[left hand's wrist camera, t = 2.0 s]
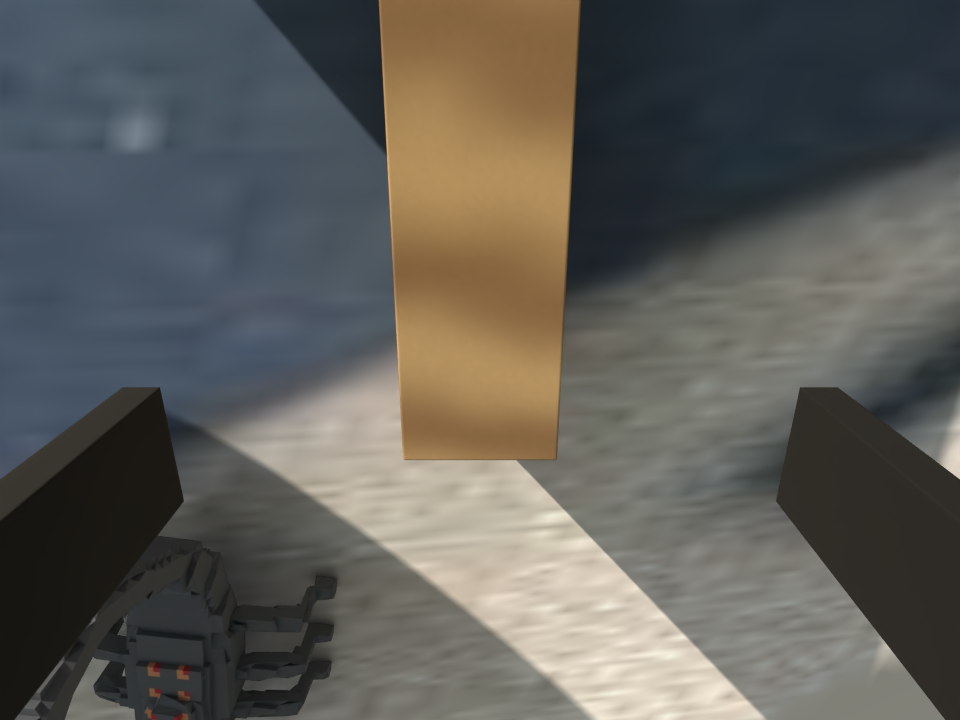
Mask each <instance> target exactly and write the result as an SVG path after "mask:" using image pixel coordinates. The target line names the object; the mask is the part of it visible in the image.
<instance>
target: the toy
mask: <svg viewBox="0 0 960 720" xmlns="http://www.w3.org/2000/svg"><path fill="white" fill-rule="evenodd" d="M336 586H337V579H335V578H326V577H317V576H316V582H315V586H309V587H308V588H307V590H306V593H305V595H304V598H303V600H302V603H301V604H297V606H281V605H278V606H275V607H273V608H271V607H261V606H251V605H241V606H239V607H238V606H237V602H236V599H235V596H234V593H233V591H232V588H231V586H230V584H229V583H228V581H227V578H226V574H225V570H224V566H223V562H222V559H221V555H220V553H219V552H212V551H210V549H206V548H202V542H201V541H194V540H186V539H178V538H169V537H161V536H156V538H155V539H154V540H153V542H152V543H151V544H150V546H149V547H148V548H147V549H146V551H145V552H144V553H143V555H142V556H141V557H140V558H139V560H138V561H137V562H136V564H135V565H134V566H133V567H132V569H131V570H130V571H129V573H128V574H127V575H126V577H125V578H124V579H123V580H122V582H121V583H120V584H119V586H118V587H117V588H116V589H115V591H114V592H113V593H112V595H111V596H110V597H109V598H108V600H107V601H106V602H105V604H104V605H103V606H102V608H101V609H100V610H99V611H98V613H97V614H96V615H95V617H94V618H93V619H92V620H91V622H90V623H89V624H88V626H87V627H86V628H85V629H84V631H83V632H82V633H81V635H80V636H79V637H78V639H77V640H76V641H75V642H74V644H73V645H72V646H71V648H70V649H69V650H68V651H67V653H66V654H65V655H64V657H63V658H62V659H61V661H60V662H59V663H58V664H57V666H56V667H55V668H54V670H53V671H52V672H51V673H50V675H49V676H48V677H47V679H46V680H45V681H44V682H43V684H42V685H41V686H40V688H39V689H38V690H37V692H36V693H35V694H34V695H33V697H32V698H31V699H30V701H29V702H28V703H27V704H26V706H25V707H24V708H23V710H22V711H21V712H20V713H19V715H18V716H17V717H16V719H15V720H65V717H66V714H67V711H68V708H69V705H70V702H71V699H72V696H73V694H74V692H75V690H76V688H77V686H78V684H79V682H80V680H81V678H82V676H83V674H84V673H85V671H86V669H87V667H88V665H89V663H90V661H91V659H92V657H94V658H96V659H102V660H109V661H110V662H109V664H108V665H107V667H106V668H105V669H104V671H103V672H102V674H101V675H100V677H99V678H98V680H97V681H96V683H95V684H94V690H95V694H97V695H98V696H99V697H100V698H103V699H106V700H109V701H113V702H117V703H119V704H120V706H127V707H129V708H134V709H135V719H136V720H235V718H246V719H247V717H269V716H290V715H297V714H298V712H299V710H300V709H301V707H302V706H303V704H304V702H305V699H306V697H307V694H308V691H309V689H310V686H311V684H312V681H313V680H317V679H325V678H327V677H329V674H330V670H331V662H321V661H311V662H309V660H310V657H311V654H312V651H313V648H314V644H315V643H320V642H327V641H331V639H332V636H333V631H334V625H325V624H316V623H309V625H308V628H307V631H306V633H305V636H304V639H303V642H302V645H301V647H300V646H296V647H295V649H294V651H293V653H290V652H252V653H249V654H245V634H244V631H264V632H301V630H302V627H303V624H304V622H308V620H309V617H310V614H311V610H312V607H313V605H314V604H315V602H316V601H317V600H326V599H332V598H334V596H335V593H336ZM127 614H128V619H127V637H125V636H119V635H117V634H118V632H119V630H120V628H121V626H122V624H123V623H124V620H123V617H126V615H127ZM124 668H125V674H126V677H124V676H122V673H123V670H124ZM299 674H302V675H301V677H300V680H299V682H298V684H297V685H296V686H294V687H293V688H292V689H291V690H266V691H255V690H253V691H244V690H243V689H242V687H243V684H244V682H245V680H254V681H261V680H265V679H268V678H272V677H281V678H290V677H293V676H296V675H299Z"/></svg>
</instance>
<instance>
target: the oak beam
mask: <svg viewBox="0 0 960 720" xmlns="http://www.w3.org/2000/svg"><path fill="white" fill-rule="evenodd" d="M379 13H380V32H381V50H382V69H383V88H384V107H385V126H386V144H387V163H388V182H389V201H390V220H391V238H392V257H393V276H394V295H395V314H396V332H397V351H398V370H399V389H400V408H401V426H402V445H403V459H404V460H556V459H557V445H558V426H559V408H560V389H561V370H562V351H563V332H564V314H565V295H566V276H567V257H568V238H569V220H570V201H571V182H572V163H573V144H574V126H575V107H576V88H577V69H578V50H579V32H580V13H581V0H379Z"/></svg>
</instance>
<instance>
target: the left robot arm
mask: <svg viewBox="0 0 960 720" xmlns="http://www.w3.org/2000/svg"><path fill="white" fill-rule="evenodd" d="M183 502H184V499H183V495H182V490H181V485H180V481H179V476H178V471H177V466H176V462H175V457H174V452H173V447H172V443H171V438H170V433H169V428H168V424H167V419H166V414H165V410H164V405H163V400H162V395H161V391H160V388H121V389H120V390H119V391H117V392H116V393H115V394H113V395H112V396H111V397H109V398H108V399H107V400H105V401H104V402H103V403H101V404H100V405H99V406H97V407H96V408H95V409H93V410H92V411H91V412H89V413H88V414H87V415H85V416H84V417H83V418H81V419H80V420H79V421H77V422H76V423H75V424H73V425H72V426H71V427H69V428H68V429H67V430H65V431H64V432H63V433H61V434H60V435H59V436H57V437H56V438H55V439H53V440H52V441H51V442H49V443H48V444H47V445H45V446H44V447H43V448H41V449H40V450H39V451H37V452H36V453H35V454H33V455H32V456H31V457H29V458H28V459H27V460H25V461H24V462H23V463H21V464H20V465H19V466H17V467H16V468H15V469H13V470H12V471H11V472H10V473H8V474H7V475H6V476H4V477H3V478H2V479H0V720H15V719H16V717H17V716H18V715H19V713H20V712H21V711H22V710H23V708H24V707H25V706H26V704H27V703H28V702H29V701H30V699H31V698H32V697H33V695H34V694H35V693H36V692H37V690H38V689H39V688H40V686H41V685H42V684H43V682H44V681H45V680H46V679H47V677H48V676H49V675H50V673H51V672H52V671H53V670H54V668H55V667H56V666H57V664H58V663H59V662H60V661H61V659H62V658H63V657H64V655H65V654H66V653H67V651H68V650H69V649H70V648H71V646H72V645H73V644H74V642H75V641H76V640H77V639H78V637H79V636H80V635H81V633H82V632H83V631H84V629H85V628H86V627H87V626H88V624H89V623H90V622H91V620H92V619H93V618H94V617H95V615H96V614H97V613H98V611H99V610H100V609H101V608H102V606H103V605H104V604H105V602H106V601H107V600H108V598H109V597H110V596H111V595H112V593H113V592H114V591H115V589H116V588H117V587H118V586H119V584H120V583H121V582H122V580H123V579H124V578H125V577H126V575H127V574H128V573H129V571H130V570H131V569H132V567H133V566H134V565H135V564H136V562H137V561H138V560H139V558H140V557H141V556H142V555H143V553H144V552H145V551H146V549H147V548H148V547H149V546H150V544H151V543H152V542H153V540H154V539H155V538H156V536H157V535H158V534H159V533H160V531H161V530H162V529H163V527H164V526H165V525H166V524H167V522H168V521H169V520H170V518H171V517H172V516H173V515H174V513H175V512H176V511H177V509H178V508H179V507H180V505H181V504H182V503H183ZM776 502H777V503H778V504H779V505H780V507H781V508H782V509H783V511H784V512H785V513H786V515H787V516H788V517H789V518H790V520H791V521H792V522H793V524H794V525H795V526H796V527H797V529H798V530H799V531H800V533H801V534H802V535H803V536H804V538H805V539H806V540H807V542H808V543H809V544H810V546H811V547H812V548H813V549H814V551H815V552H816V553H817V555H818V556H819V557H820V558H821V560H822V561H823V562H824V564H825V565H826V566H827V567H828V569H829V570H830V571H831V573H832V574H833V575H834V577H835V578H836V579H837V580H838V582H839V583H840V584H841V586H842V587H843V588H844V589H845V591H846V592H847V593H848V595H849V596H850V597H851V598H852V600H853V601H854V602H855V604H856V605H857V606H858V608H859V609H860V610H861V611H862V613H863V614H864V615H865V617H866V618H867V619H868V620H869V622H870V623H871V624H872V626H873V627H874V628H875V629H876V631H877V632H878V633H879V635H880V636H881V637H882V639H883V640H884V641H885V642H886V644H887V645H888V646H889V648H890V649H891V650H892V651H893V653H894V654H895V655H896V657H897V658H898V659H899V661H900V662H901V663H902V664H903V666H904V667H905V668H906V670H907V671H908V672H909V673H910V675H911V676H912V677H913V679H914V680H915V681H916V682H917V684H918V685H919V686H920V688H921V689H922V690H923V691H924V693H925V694H926V695H927V697H928V698H929V699H930V700H931V702H932V703H933V704H934V706H935V707H936V708H937V710H938V711H939V712H940V713H941V715H942V716H943V717H944V719H945V720H960V479H958V478H957V477H956V476H954V475H953V474H952V473H950V472H949V471H948V470H947V469H945V468H944V467H943V466H941V465H940V464H939V463H937V462H936V461H935V460H933V459H932V458H931V457H929V456H928V455H927V454H925V453H924V452H923V451H921V450H920V449H919V448H917V447H916V446H915V445H913V444H912V443H911V442H909V441H908V440H907V439H905V438H904V437H903V436H901V435H900V434H899V433H897V432H896V431H895V430H893V429H892V428H891V427H889V426H888V425H887V424H885V423H884V422H883V421H881V420H880V419H879V418H877V417H876V416H875V415H873V414H872V413H871V412H869V411H868V410H867V409H865V408H864V407H863V406H861V405H860V404H859V403H857V402H856V401H855V400H853V399H852V398H851V397H849V396H848V395H847V394H845V393H844V392H843V391H841V390H840V389H839V388H800V391H799V395H798V400H797V405H796V410H795V414H794V419H793V424H792V428H791V433H790V438H789V443H788V447H787V452H786V457H785V462H784V466H783V471H782V476H781V481H780V485H779V490H778V495H777V499H776Z"/></svg>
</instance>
